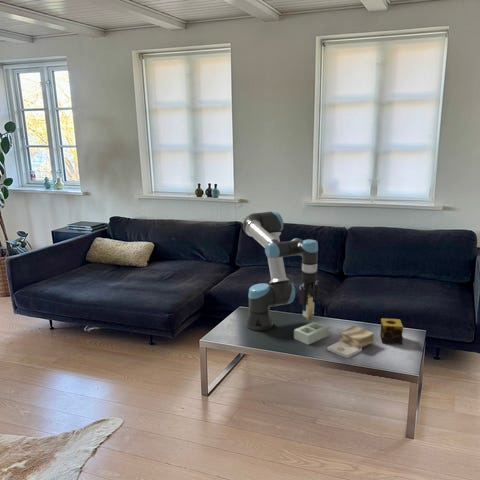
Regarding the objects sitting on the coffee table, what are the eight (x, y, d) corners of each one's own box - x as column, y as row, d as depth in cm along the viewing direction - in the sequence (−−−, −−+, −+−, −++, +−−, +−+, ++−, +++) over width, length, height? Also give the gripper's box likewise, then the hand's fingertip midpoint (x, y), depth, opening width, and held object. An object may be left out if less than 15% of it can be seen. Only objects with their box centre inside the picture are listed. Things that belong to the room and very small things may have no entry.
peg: (302, 318, 231) (303, 296, 228) (308, 316, 233) (308, 294, 230) (308, 321, 228) (309, 298, 225) (313, 319, 230) (314, 296, 227)
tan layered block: (339, 341, 233) (339, 332, 232) (353, 334, 240) (354, 325, 239) (359, 349, 224) (359, 340, 223) (373, 341, 231) (373, 333, 230)
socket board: (294, 338, 240) (294, 329, 239) (314, 329, 250) (314, 321, 249) (308, 344, 233) (308, 335, 232) (328, 335, 243) (328, 327, 242)
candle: (402, 345, 230) (403, 327, 228) (381, 343, 232) (382, 325, 230) (399, 336, 240) (401, 319, 238) (379, 335, 242) (380, 317, 240)
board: (327, 349, 227) (327, 346, 227) (342, 342, 235) (342, 339, 234) (346, 358, 218) (346, 355, 218) (361, 350, 225) (362, 347, 225)
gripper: (303, 276, 216) (302, 322, 222) (326, 269, 226) (325, 312, 232) (291, 272, 222) (291, 317, 228) (315, 265, 232) (314, 308, 238)
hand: (308, 314), depth 230 cm, fingers closed on peg, 4 cm apart
